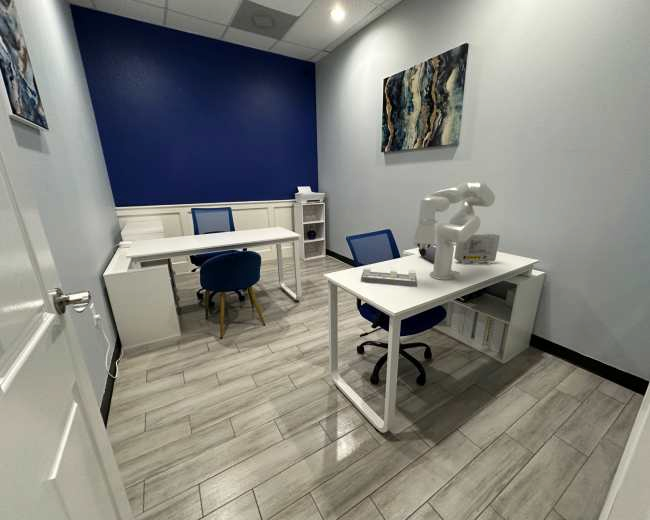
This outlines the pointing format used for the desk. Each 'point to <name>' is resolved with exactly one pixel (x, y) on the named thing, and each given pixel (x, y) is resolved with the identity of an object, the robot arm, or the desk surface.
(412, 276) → the slider
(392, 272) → the slider middle
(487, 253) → the network device
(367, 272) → the slider
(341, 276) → the desk surface
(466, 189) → the robot arm
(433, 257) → the bluetooth speaker
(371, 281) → the switch console
